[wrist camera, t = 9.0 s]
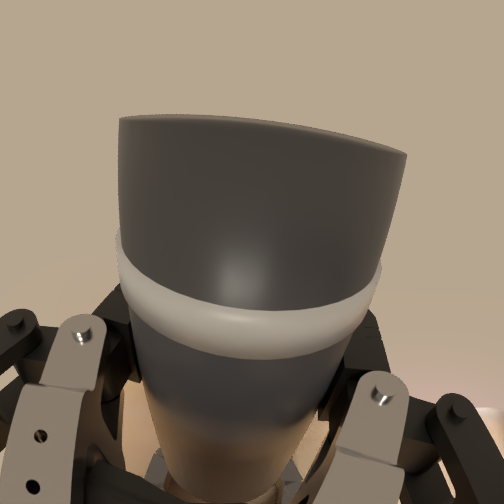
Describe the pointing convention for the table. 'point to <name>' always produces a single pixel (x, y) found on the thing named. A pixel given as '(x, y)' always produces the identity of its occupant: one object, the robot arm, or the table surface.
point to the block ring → (284, 484)
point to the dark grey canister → (245, 282)
